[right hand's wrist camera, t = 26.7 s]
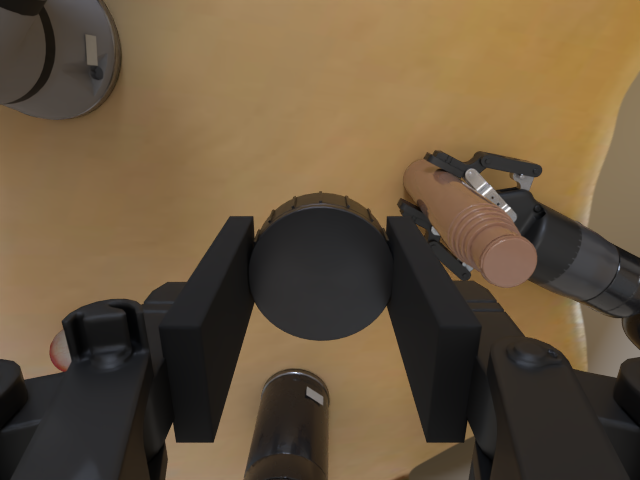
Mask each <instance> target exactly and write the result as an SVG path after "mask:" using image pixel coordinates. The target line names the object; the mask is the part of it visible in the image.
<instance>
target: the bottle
mask: <svg viewBox="0 0 640 480" xmlns="http://www.w3.org/2000/svg"><path fill="white" fill-rule="evenodd" d="M403 184H404V187H405V189H406V191H407V192H408V194H409V195H410V196H411V198H412V199H413V200H414V202H415V203H416V204H417V206H418V207H419V208H420V210H421V211H422V212H423V214H424V215H425V216H426V218H427V219H428V220H429V222H430V223H431V224H432V226H433V227H434V228H435V230H436V231H437V233H438V234H439V235H440V237H441V238H442V239H443V241H444V242H445V243H446V245H447V246H448V247H449V249H450V250H451V251H452V253H453V254H454V255H455V256H456V257H457V258H458V259H459V260H461V261H462V262H463V263H465V264H467V265H469V266H470V267H472V268H474V269H476V270H477V271H479V272H481V274H482V276H483V277H484V278H485V279H486V280H487V281H488V282H489V283H491V284H493V285H495V286H499V287H514V286H517V285H520V284H522V283H523V282H525V281H526V280H527V279H528V278H529V277H530V276H531V275H532V274H533V272H534V270H535V268H536V265H537V253H536V249H535V248H534V246H533V244H532V243H531V242H530V241H529V240H527V239H526V238H525V237H522V236H521V234H520V232H519V231H518V229H517V227H516V226H515V224H514V222H513V220H512V219H511V217H510V216H509V215H508V214H507V213H506V212H505V211H504V210H503V209H502V208H500V207H499V206H497V205H496V204H495V203H493V202H492V201H490V200H489V199H487V198H486V197H485V196H483V195H482V194H480V193H479V192H477V191H476V190H475V189H473V188H472V187H470V186H469V185H467V184H466V183H465V182H463V181H462V180H460V179H459V178H457V177H456V176H455V175H453V174H451V173H449V172H447V171H445V170H443V169H441V168H439V167H437V166H435V165H433V164H432V163H430V162H428V161H426V160H425V159H421V160H417V161H415V162H413V163H412V164H411V165H410V166H409V167H408V168H407V169H406V171H405V173H404V177H403Z"/></svg>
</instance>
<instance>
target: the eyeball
mask: <svg viewBox="0 0 640 480" xmlns="http://www.w3.org/2000/svg"><path fill="white" fill-rule="evenodd" d="M50 358H51V361H52V363H53V364H54V366H55V367H57V368H58V369H59V370H61V371H63V372H65V371H67V369H68V367H69V365H70V363H71V357H70V353H69V349H68V345H67V341H66V337H65V333H64V329H63V330H62V331H61V332H59V333H58V334H57V335H56V336H55V338H54V339H53V341H52V343H51V345H50Z"/></svg>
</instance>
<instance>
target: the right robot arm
mask: <svg viewBox="0 0 640 480" xmlns="http://www.w3.org/2000/svg"><path fill="white" fill-rule="evenodd" d="M120 64H121V48H120V40H119V36H118V32H117V28H116V25H115V23H114V20H113V18H112V16H111V14H110V12H109V10H108V8H107V6H106V5H105V3H104V2H103V0H0V104H2V105H4V106H7V107H9V108H12V109H15V110H17V111H19V112H22V113H24V114H27V115H30V116H33V117H38V118H43V119H53V120H59V119H69V118H75V117H79V116H83V115H85V114H88V113H90V112H91V111H93V110H95V109H96V108H97V107H99V106H100V105H101V104H102V103H103V102H104V101H105V100H106V99H107V98H108V96H109V95H110V93H111V92H112V90H113V88H114V86H115V84H116V81H117V79H118V75H119V71H120ZM386 234H387V236H388V239H389V241H390V242H388V244H389V246H390V249H391V251H392V254H393V258H394V264H393V280H392V294H391V298H390V300H389V302H388V304H387V308H388V312H389V315H390V318H391V322H392V325H393V329H394V332H395V336H396V339H397V342H398V346H399V349H400V353H401V356H402V359H403V363H404V366H405V370H406V373H407V377H408V380H409V383H410V387H411V390H412V394H413V397H414V401H415V404H416V407H417V411H418V414H419V418H420V421H421V425H422V428H423V431H424V435H425V438H426V442H432V443H464V440H465V434H466V427H467V421H468V422H469V424H470V427H471V429H472V431H473V434H474V436H475V444H474V450H473V457H472V462H471V469H470V474H469V480H640V357H637V358H631V359H627V360H626V361H624V362H623V363H622V364H621V366H620V370H619V373H618V376H617V378H614V377H609V376H604V375H598V374H594V373H588V372H583V371H579V370H575V369H573V368H572V367H571V365H570V363H569V361H568V360H567V358H566V357H565V356H564V355H563V354H562V352H560V351H559V350H557V349H556V348H554V347H553V346H551V345H549V344H547V343H544V342H542V341H539V340H537V339H533V338H528V337H525V336H524V334H523V333H522V332H521V331H520V329H519V328H518V327H517V326H516V324H515V323H514V322H513V321H512V319H511V318H510V317H509V316H508V314H507V313H506V312H504V309H503V308H502V307H501V305H500V304H499V303H497V300H496V299H495V298H494V297H493V295H492V294H491V293H490V292H489V290H488V289H486V288H484V287H483V286H481V285H479V284H478V283H476V282H474V281H452V279H451V278H450V276H449V275H448V273H447V272H446V270H445V269H444V267H443V266H442V264H441V262H440V261H439V259H438V258H437V256H436V255H435V253H434V252H433V250H432V249H431V247H430V246H429V244H428V243H427V241H426V239H425V238H424V236H423V235H422V233H421V232H420V230H419V229H418V227H417V226H416V224H415V223H414V221H413V220H412V218H411V216H387V226H386ZM254 239H255V238H254V221H253V216H230V217H229V218H228V220H227V222H226V223H225V225H224V226H223V228H222V229H221V231H220V232H219V234H218V235H217V237H216V238H215V240H214V241H213V243H212V245H211V246H210V248H209V249H208V251H207V252H206V254H205V255H204V257H203V258H202V260H201V261H200V263H199V264H198V266H197V268H196V269H195V271H194V272H193V274H192V275H191V277H190V278H189V280H188V281H187V282H167V283H165V284H164V285H162V286H160V287H159V288H157V289H155V290H154V291H152V292H151V294H150V295H149V296H148V298H147V299H146V300H145V301H144V304H142V305H140V304H139V303H138V302H136V301H133V300H128V299H109V300H104V301H98V302H94V303H91V304H89V305H86V306H83V307H80V308H79V309H77V310H75V311H73V312H71V313H70V314H69V315H68V316H67V317H65V318H64V319H63V320H62V325H63V329H64V333H65V337H66V341H67V345H68V349H69V353H70V357H71V363H70V365H69V367H68V369H67V371H65V372H61V373H57V374H52V375H47V376H41V377H36V378H31V379H26V380H24V378H23V375H22V372H21V368H20V366H19V365H18V364H16V363H15V362H14V361H10V360H4V359H0V480H165V476H166V469H167V461H168V458H167V450H166V444H165V439H166V437H167V434H168V432H169V430H170V427H171V425H172V423H173V425H174V432H175V438H176V443H214V439H215V436H216V432H217V429H218V426H219V422H220V419H221V415H222V412H223V408H224V405H225V402H226V398H227V395H228V391H229V388H230V384H231V381H232V378H233V374H234V371H235V367H236V364H237V360H238V357H239V354H240V350H241V347H242V343H243V340H244V337H245V333H246V330H247V326H248V323H249V319H250V316H251V313H252V309H253V306H254V300H253V297H252V295H251V292H250V288H249V284H248V264H249V258H250V255H251V252H252V249H253V247H254V244H253V241H254Z"/></svg>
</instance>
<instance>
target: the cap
mask: <svg viewBox="0 0 640 480" xmlns="http://www.w3.org/2000/svg"><path fill="white" fill-rule="evenodd" d="M388 242H390V241H389V239H388V236H387V234H386V231H385V229H384V228H382V227H381V226H380V224H379V222H378V221H377V220H376V218H375V217H374V216H373V215H372V214H371V211H370V209H369V208H368V209H366V208H365V207H363V206H362V205H360V204H359V203H357V202H355V201H353V200H352V199H349V198H348V196H345V197H344V196H341V195H336V194H330V193H322V191H319V193H313V194H307V195H303V196H299V197H296V196H295V197H293V199H292V200H290V201H288V202H286V203H284V204H283V205H281V206H280V207H279V208H277V209H276V210H272V212H271V215H270V216H269V217H268V218H267V220H266V221H265V223H264V224H263V226H262V228H261V230H259V229H258V232H257V234H256V236H255V239H254V241H253V244H254V247H253V249H252V252H251V255H250V258H249V264H248V284H249V288H250V292H251V295H252V297H253V300H254V302H255V303H256V305H257V307H258V309H259V310H260V311H261V312H262V314H263V315H264V316H265V317H266V318H267V319H268V320H269V321H270V322H271V323H272V324H274V325H275V326H276V327H278V328H279V329H281V330H283V331H284V332H286V333H289V334H291V335H293V336H296V337H299V338H303V339H308V340H318V341H325V340H335V339H340V338H344V337H347V336H350V335H352V334H355V333H357V332H359V331H361V330H362V329H364V328H365V327H367V326H368V325H370V324H371V323H372V322H373V321H374V320H375V319H377V317H378V316H379V315H380V314H381V313H382V312H383V310H384V309H385V307H386V306H387V304H388V302H389V300H390V298H391V294H392V280H393V264H394V258H393V254H392V251H391V249H390V246H389V244H388Z"/></svg>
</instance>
